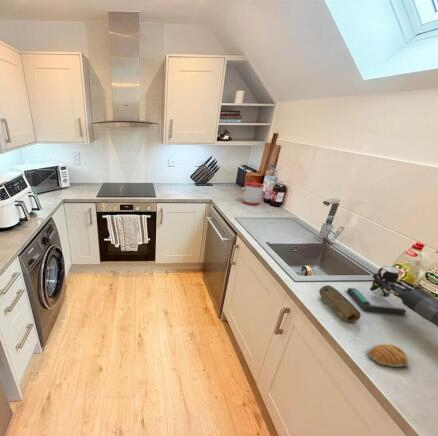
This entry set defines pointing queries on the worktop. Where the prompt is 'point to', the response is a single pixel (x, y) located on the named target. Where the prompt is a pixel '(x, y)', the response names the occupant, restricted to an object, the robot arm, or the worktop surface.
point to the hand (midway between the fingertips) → (378, 275)
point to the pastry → (389, 355)
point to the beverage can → (387, 274)
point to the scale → (375, 302)
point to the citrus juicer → (252, 192)
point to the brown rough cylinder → (339, 304)
